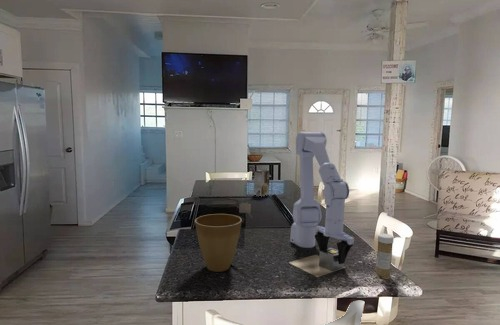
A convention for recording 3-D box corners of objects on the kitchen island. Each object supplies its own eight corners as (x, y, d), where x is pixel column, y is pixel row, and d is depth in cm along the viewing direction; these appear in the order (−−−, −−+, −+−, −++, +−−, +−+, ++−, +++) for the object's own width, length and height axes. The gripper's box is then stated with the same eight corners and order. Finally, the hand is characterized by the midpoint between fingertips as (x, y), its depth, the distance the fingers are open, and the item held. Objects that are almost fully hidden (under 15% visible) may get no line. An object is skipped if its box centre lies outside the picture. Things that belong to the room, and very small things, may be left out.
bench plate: (288, 265, 117) (288, 262, 117) (315, 257, 124) (315, 254, 124) (317, 280, 106) (317, 277, 106) (345, 270, 114) (345, 267, 114)
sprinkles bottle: (378, 272, 113) (381, 231, 112) (392, 276, 110) (396, 235, 109) (372, 276, 110) (375, 235, 108) (387, 281, 107) (390, 238, 105)
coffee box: (261, 193, 232) (261, 169, 230) (269, 194, 228) (270, 170, 226) (253, 195, 224) (253, 170, 223) (261, 197, 221) (262, 171, 219)
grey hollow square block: (318, 265, 115) (319, 250, 114) (330, 261, 118) (331, 247, 118) (332, 271, 110) (333, 256, 110) (343, 267, 114) (344, 252, 113)
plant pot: (237, 257, 122) (239, 213, 120) (243, 276, 108) (244, 225, 106) (194, 258, 120) (195, 213, 118) (194, 278, 105) (194, 226, 104)
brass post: (326, 268, 115) (327, 251, 114) (331, 267, 116) (332, 249, 115) (332, 271, 113) (333, 253, 112) (337, 269, 114) (338, 252, 114)
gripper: (309, 215, 116) (307, 254, 118) (344, 226, 104) (342, 269, 106) (323, 212, 120) (321, 250, 122) (359, 222, 108) (356, 264, 110)
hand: (332, 259), depth 114 cm, fingers open, 7 cm apart
